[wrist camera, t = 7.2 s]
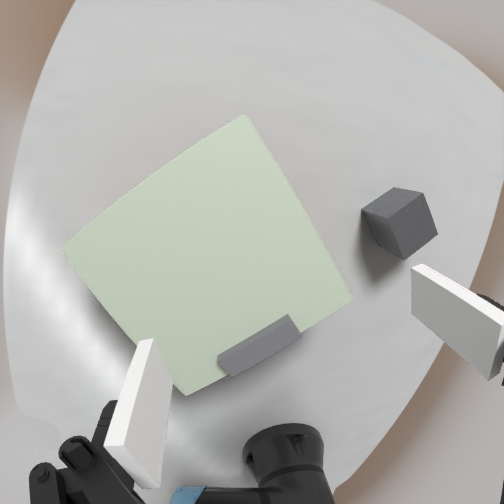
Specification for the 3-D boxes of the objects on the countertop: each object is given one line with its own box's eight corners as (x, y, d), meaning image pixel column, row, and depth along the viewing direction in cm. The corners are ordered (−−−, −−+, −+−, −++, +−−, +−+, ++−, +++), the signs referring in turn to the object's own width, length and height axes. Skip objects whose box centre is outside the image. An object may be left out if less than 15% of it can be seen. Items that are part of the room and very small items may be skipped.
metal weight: (408, 223, 41) (437, 234, 34) (378, 245, 41) (404, 260, 34) (393, 187, 39) (423, 192, 32) (361, 209, 39) (387, 218, 33)
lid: (347, 293, 31) (358, 304, 28) (186, 387, 32) (185, 403, 29) (243, 116, 25) (246, 110, 22) (66, 244, 26) (54, 251, 24)
